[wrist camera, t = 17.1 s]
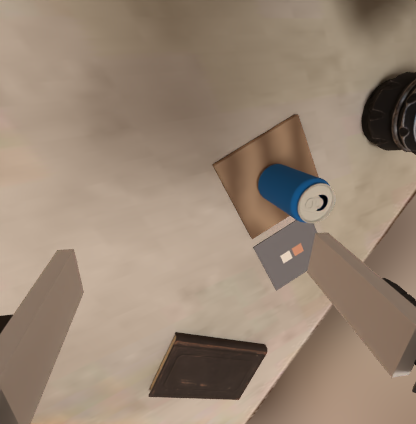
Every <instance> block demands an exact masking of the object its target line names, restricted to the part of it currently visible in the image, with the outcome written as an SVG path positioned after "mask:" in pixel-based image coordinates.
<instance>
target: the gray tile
mask: <svg viewBox="0 0 416 424" xmlns="http://www.w3.org/2000/svg"><path fill="white" fill-rule="evenodd" d="M315 233H317V231H316V229H315V226H314V223H303V222H300V221H297V220H296V221H294V222H293V223H291V224H289V225H288V226H286V227H285V228H283V229H282V230H280V231H278V232H277V233H275V234H274V235H272V236H270V237H269V238H267V239H266V240H264V241H263V242H261V243H259V244H258V245H256V246H255V247H253V248H254V250H255V252H256V253H257V255H258V257H259V259H260V261H261V263H262V265H263V267H264V268H265V270H266V272H267V274H268V276H269V278H270V280H271V281H272V283H273V285H274V287H275V289H276V290H278V289H280V288H281V287H283V286H284V285H286V284H287V283H289V282H290V281H292V280H294V279H295V278H297V277H298V276H300V275H301V274H303V273H305V272H306V271H307V270H308V266H309V261H310V256H311V252H312V247H313V243H314V238H315Z"/></svg>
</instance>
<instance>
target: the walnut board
mask: <svg viewBox="0 0 416 424" xmlns="http://www.w3.org/2000/svg"><path fill="white" fill-rule="evenodd" d="M274 164H282V165H285V166H288V167H291V168H294V169H296V170H299V171H302V172H305V173H307V174H310V175H313V176H316V177H318V174H317V171H316V168H315V165H314V162H313V159H312V156H311V153H310V150H309V147H308V143H307V140H306V137H305V134H304V131H303V128H302V125H301V122H300V119H299V116H298V115H293V116H291V117H290V118H288V119H286V120H285V121H283V122H282V123H280V124H278V125H277V126H275V127H273V128H272V129H270V130H268V131H267V132H265V133H264V134H262V135H260V136H259V137H257V138H255V139H254V140H252V141H250V142H249V143H247V144H246V145H244V146H242V147H241V148H239V149H237V150H236V151H234V152H232V153H231V154H229V155H228V156H226V157H224V158H223V159H221V160H219V161H218V162H216V163H214V164H213V167H214V169H215V171H216V172H217V174H218V176H219V178H220V180H221V182H222V184H223V186H224V188H225V189H226V191H227V193H228V195H229V197H230V199H231V201H232V203H233V205H234V206H235V208H236V210H237V212H238V214H239V216H240V218H241V220H242V222H243V223H244V225H245V227H246V229H247V231H248V233H249V235H250V237H251V238H252V239H253V238H255V237H256V236H258V235H260V234H261V233H263V232H264V231H266V230H268V229H269V228H271V227H272V226H274V225H276V224H277V223H279V222H280V221H282V220H284V219H285V218H287V217H288V216H290V215H288V214H287V213H286V212H284V211H283V210H281V209H280V208H278V207H277V206H275V205H274V204H272V203H271V202H269V201H268V200H266V199H265V198H263V197H262V196H261V194H260V192H259V189H258V181H259V178H260V176H261V174H262V172H263V171H264V170H265V169H266V168H267V167H269V166H271V165H274ZM318 178H319V177H318Z"/></svg>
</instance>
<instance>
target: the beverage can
mask: <svg viewBox="0 0 416 424" xmlns="http://www.w3.org/2000/svg"><path fill="white" fill-rule="evenodd" d="M258 189H259V192H260V194H261V196H262V197H263V198H265V199H266V200H268V201H269V202H271V203H272V204H274V205H275V206H277V207H278V208H280V209H281V210H283V211H284V212H286V213H287V214H288V215H290V216H291V217H293V218H294V219H296V220H297V221H300V222H303V223H317V222H320V221H322V220H324V219H325V218H326V217H327V216H328V215H329V214H330V213H331V211H332V210H333V208H334V205H335V200H336V197H335V192H334V190H333V188H332V187H331V186H330V185H329V184H328V183H327V182H326V181H325V180H323V179H321V178H318V177H316V176H313V175H310V174H307V173H305V172H302V171H299V170H296V169H294V168H291V167H288V166H285V165H282V164H274V165H271V166H269V167H267V168H266V169H265V170H264V171H263V172H262V174H261V176H260V178H259V181H258Z"/></svg>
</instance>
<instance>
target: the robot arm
mask: <svg viewBox="0 0 416 424" xmlns="http://www.w3.org/2000/svg"><path fill="white" fill-rule="evenodd" d="M307 273H308V274H309V275H310V276H311V278H312V279H313V280H314V281H315V283H316V284H317V285H318V286H319V288H320V289H321V290H322V291H323V293H324V294H325V295H326V296H327V298H328V299H329V300H330V301H331V303H332V304H333V305H334V306H335V307H336V309H337V310H338V311H339V312H340V314H341V315H342V316H343V317H344V319H345V320H346V321H347V322H348V324H349V325H350V326H351V327H352V329H353V330H354V331H355V332H356V334H357V335H358V336H359V337H360V339H361V340H362V341H363V342H364V344H365V345H366V346H367V347H368V349H369V350H370V351H371V352H372V353H373V355H374V356H375V357H376V358H377V360H378V361H379V362H380V363H381V365H382V366H383V367H384V368H385V370H386V371H387V372H388V373H389V375H390V376H391V377H398V376H404V375H409V374H410V372H411V370H412V368H413V366H414V364H415V365H416V301H415V299H414V298H413V297H412V296H411V295H408V294H407V292H405V291H404V290H403V289H402V288H401V287H400V286H398V285H397V284H395V283H393V282H391V281H390V280H388V279H386V278H381V277H380V276H378V275H377V274H376V273H375V272H374V271H373V270H371V269H370V268H369V267H368V266H367V265H365V264H364V263H363V262H362V261H361V260H360V259H358V258H357V257H356V256H355V255H354V254H352V253H351V252H350V251H349V250H348V249H347V248H345V247H344V246H343V245H342V244H341V243H339V242H338V241H337V240H336V239H335V238H333V237H332V236H331V235H330V234H329V233H315V238H314V243H313V247H312V252H311V256H310V261H309V266H308V270H307ZM83 293H84V291H83V287H82V282H81V278H80V274H79V269H78V265H77V261H76V257H75V252H74V249H68V250H57V252H56V253H55V255H54V256H53V257H52V259H51V260H50V262H49V263H48V265H47V266H46V268H45V269H44V271H43V272H42V274H41V275H40V277H39V278H38V279H37V281H36V282H35V284H34V285H33V287H32V288H31V290H30V291H29V293H28V294H27V296H26V297H25V299H24V300H23V301H22V303H21V304H20V306H19V307H18V309H17V310H16V312H15V313H14V315H4V316H0V424H30V423H31V421H32V419H33V416H34V414H35V411H36V409H37V406H38V404H39V401H40V399H41V396H42V394H43V391H44V389H45V386H46V384H47V382H48V379H49V377H50V374H51V372H52V369H53V367H54V364H55V362H56V359H57V357H58V354H59V352H60V349H61V347H62V344H63V342H64V340H65V337H66V335H67V332H68V330H69V327H70V325H71V322H72V320H73V317H74V315H75V312H76V310H77V307H78V305H79V303H80V300H81V298H82V295H83ZM412 391H413V392H414V393H416V383H415V385H414V386H413V390H412Z"/></svg>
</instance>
